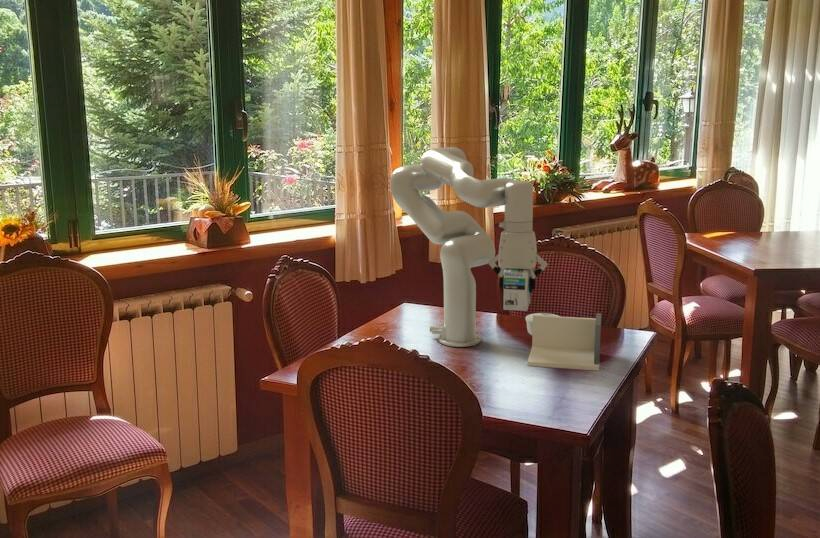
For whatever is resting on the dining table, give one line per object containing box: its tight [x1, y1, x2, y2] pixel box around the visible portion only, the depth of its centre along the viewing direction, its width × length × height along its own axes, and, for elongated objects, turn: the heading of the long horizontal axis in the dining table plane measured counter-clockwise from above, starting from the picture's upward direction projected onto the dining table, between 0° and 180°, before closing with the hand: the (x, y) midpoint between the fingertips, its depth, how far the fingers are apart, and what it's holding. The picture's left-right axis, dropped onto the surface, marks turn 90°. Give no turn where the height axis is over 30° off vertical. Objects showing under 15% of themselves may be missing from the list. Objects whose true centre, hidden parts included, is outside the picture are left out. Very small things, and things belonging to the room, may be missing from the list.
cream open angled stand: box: [527, 315, 600, 371], centre depth 221 cm, size 19×15×10 cm
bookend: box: [594, 312, 602, 366], centre depth 219 cm, size 1×12×11 cm, turn 167°
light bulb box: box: [502, 269, 531, 312], centre depth 219 cm, size 11×7×11 cm, turn 167°
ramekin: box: [525, 312, 561, 336], centre depth 246 cm, size 11×11×5 cm
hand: (517, 290), depth 219 cm, fingers closed on light bulb box, 6 cm apart
